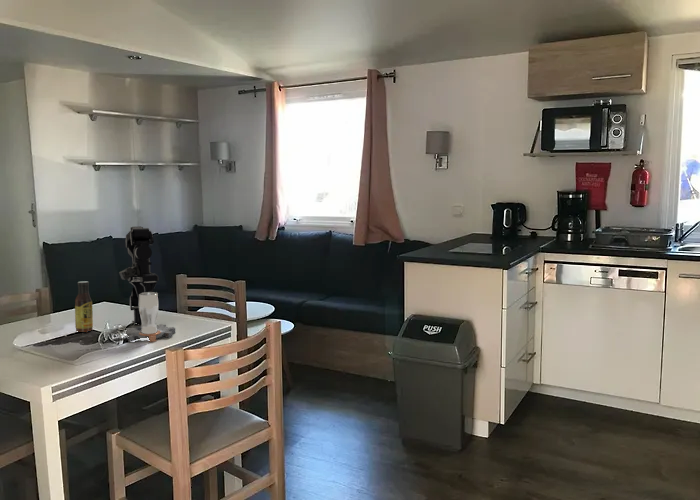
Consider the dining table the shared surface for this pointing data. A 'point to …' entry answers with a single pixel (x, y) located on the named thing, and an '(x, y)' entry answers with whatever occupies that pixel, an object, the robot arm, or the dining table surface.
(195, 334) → the dining table surface
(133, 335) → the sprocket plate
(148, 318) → the beer glass
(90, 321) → the sauce bottle
